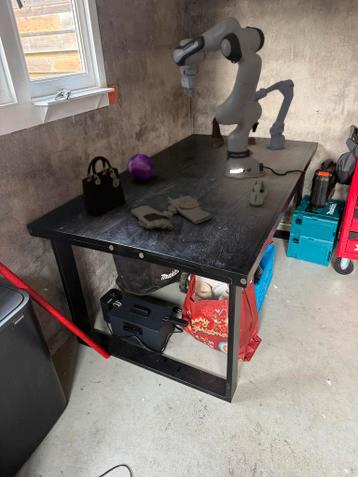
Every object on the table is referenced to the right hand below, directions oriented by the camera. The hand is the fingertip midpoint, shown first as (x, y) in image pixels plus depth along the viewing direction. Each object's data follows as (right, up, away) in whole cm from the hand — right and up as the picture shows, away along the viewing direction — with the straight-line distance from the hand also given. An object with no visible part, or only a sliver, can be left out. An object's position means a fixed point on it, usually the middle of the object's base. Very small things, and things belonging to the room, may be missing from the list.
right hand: (251, 131), depth 242 cm
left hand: (-48, +8, -41) cm, 63 cm away
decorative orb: (-75, -45, -51) cm, 102 cm away
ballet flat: (-15, -59, -82) cm, 102 cm away
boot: (-24, -7, +9) cm, 27 cm away
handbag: (-89, -64, -83) cm, 137 cm away
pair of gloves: (-57, -69, -95) cm, 131 cm away
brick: (0, -8, +5) cm, 9 cm away
